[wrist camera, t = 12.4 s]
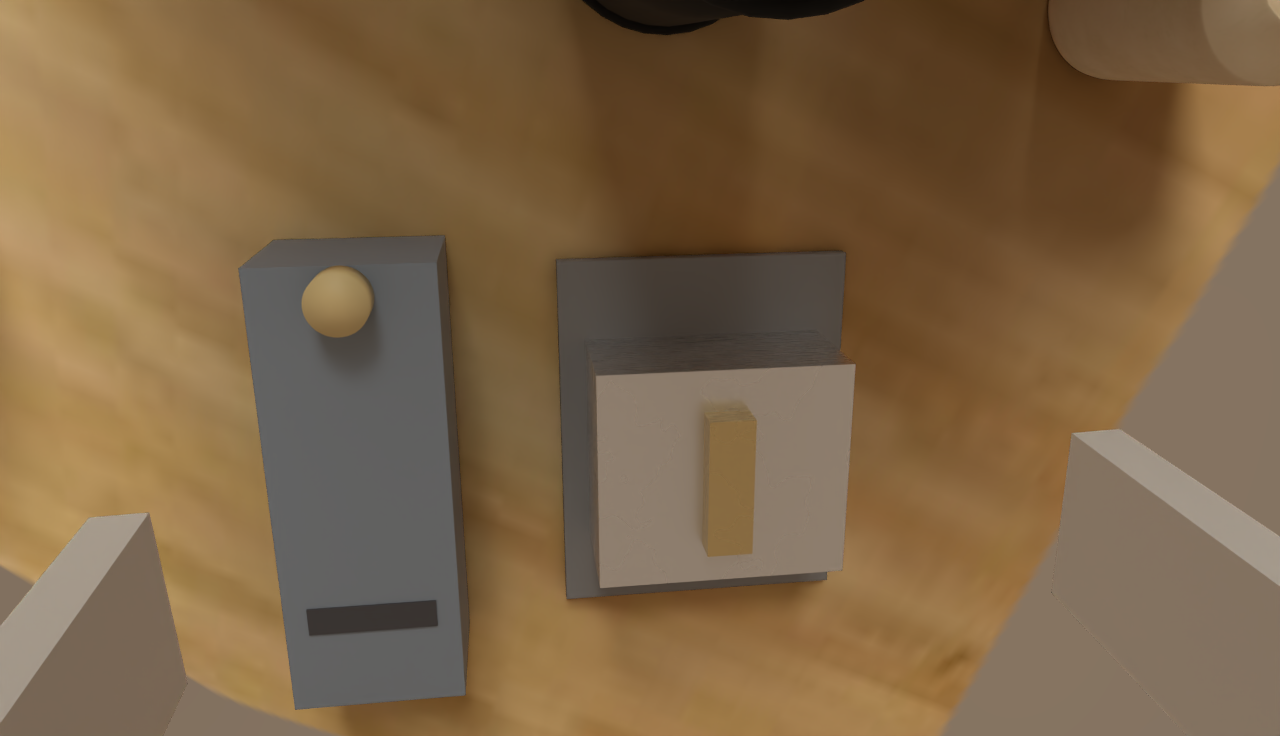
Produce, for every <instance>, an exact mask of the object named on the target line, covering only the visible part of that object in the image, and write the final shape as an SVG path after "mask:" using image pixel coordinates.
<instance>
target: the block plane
mask: <svg viewBox="0 0 1280 736" xmlns="http://www.w3.org/2000/svg"><path fill="white" fill-rule="evenodd" d="M238 269H239V276H240V284H241V292H242V300H243V308H244V315H245V323H246V331H247V339H248V346H249V354H250V362H251V370H252V378H253V385H254V393H255V401H256V409H257V416H258V424H259V432H260V440H261V448H262V455H263V463H264V471H265V479H266V487H267V494H268V502H269V510H270V518H271V525H272V533H273V541H274V549H275V557H276V564H277V572H278V580H279V588H280V595H281V603H282V611H283V619H284V627H285V634H286V642H287V650H288V658H289V665H290V673H291V681H292V689H293V697H294V704H295V710H297V709H309V708H321V707H333V706H345V705H357V704H368V703H380V702H392V701H404V700H416V699H428V698H439V697H451V696H463V695H466V679H467V660H468V642H469V624H470V619H469V603H468V588H467V572H466V556H465V541H464V525H463V509H462V494H461V478H460V463H459V447H458V431H457V416H456V400H455V384H454V369H453V353H452V338H451V322H450V306H449V291H448V275H447V259H446V244H445V235H441V236H403V237H366V238H329V239H291V240H273V241H272V242H271V243H269V244H268V245H267V246H266V247H264V248H263V249H262V250H261V251H259V252H258V253H257V254H256V255H255V256H253V257H252V258H251V259H250V260H248V261H247V262H246V263H245V264H243V265H242V266H241V267H240V268H238Z"/></svg>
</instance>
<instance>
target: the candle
mask: <svg viewBox="0 0 1280 736" xmlns="http://www.w3.org/2000/svg"><path fill="white" fill-rule="evenodd" d="M1048 20H1049V27H1050V31H1051V36H1052V38H1053V41H1054V43H1055V46H1056V47H1057V49H1058V51H1059V53H1060V54H1061V55H1062V57H1063V58H1064V59H1065V60H1066V61H1067V62H1068V63H1069V64H1070V65H1071V66H1072V67H1074V68H1075V69H1077V70H1078V71H1080V72H1082V73H1084V74H1086V75H1089V76H1092V77H1095V78H1100V79H1106V80H1119V81H1145V82H1170V83H1196V84H1221V85H1247V86H1279V85H1280V0H1049V5H1048Z"/></svg>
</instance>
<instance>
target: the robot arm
mask: <svg viewBox="0 0 1280 736" xmlns="http://www.w3.org/2000/svg"><path fill="white" fill-rule="evenodd" d="M1051 593H1052V594H1053V595H1054V596H1055V597H1056V598H1057V599H1058V600H1059V601H1060V602H1061V604H1062V605H1063V606H1064V607H1065V608H1066V609H1067V610H1068V611H1069V612H1070V613H1071V614H1072V615H1073V616H1074V617H1075V618H1076V619H1077V620H1078V622H1079V623H1080V624H1081V625H1082V626H1083V627H1084V628H1085V629H1086V630H1087V631H1088V632H1089V633H1090V634H1091V635H1092V636H1093V637H1094V638H1095V639H1096V640H1097V642H1098V643H1099V644H1100V645H1101V646H1102V647H1103V648H1104V649H1105V650H1106V651H1107V652H1108V653H1109V654H1110V655H1111V656H1112V657H1113V658H1114V659H1115V660H1116V661H1117V663H1118V664H1119V665H1120V666H1121V667H1122V668H1123V669H1124V670H1125V671H1126V672H1127V673H1128V674H1129V675H1130V676H1131V677H1132V678H1133V680H1134V681H1135V682H1136V683H1137V684H1139V686H1140V687H1141V688H1142V689H1143V690H1144V691H1145V692H1146V693H1147V694H1148V695H1149V696H1150V697H1151V698H1152V699H1153V700H1154V702H1155V703H1156V704H1157V705H1158V706H1159V707H1160V708H1161V709H1162V710H1163V711H1164V712H1165V713H1166V714H1167V715H1168V716H1169V717H1170V718H1171V720H1172V721H1173V722H1174V723H1175V724H1176V725H1177V726H1178V727H1179V728H1180V729H1181V730H1182V731H1183V732H1184V733H1185V734H1186V735H1187V736H1280V536H1278V535H1277V534H1275V533H1274V532H1272V531H1271V530H1269V529H1268V528H1266V527H1265V526H1263V525H1262V524H1260V523H1259V522H1257V521H1256V520H1254V519H1253V518H1251V517H1250V516H1248V515H1247V514H1245V513H1244V512H1243V511H1241V510H1240V509H1238V508H1236V507H1235V506H1234V505H1232V504H1231V503H1229V502H1228V501H1226V500H1225V499H1223V498H1222V497H1220V496H1218V495H1217V494H1216V493H1214V492H1213V491H1211V490H1210V489H1208V488H1207V487H1205V486H1204V485H1202V484H1201V483H1199V482H1198V481H1196V480H1195V479H1193V478H1192V477H1191V476H1189V475H1188V474H1186V473H1185V472H1183V471H1182V470H1180V469H1179V468H1177V467H1176V466H1174V465H1173V464H1171V463H1170V462H1168V461H1167V460H1165V459H1164V458H1162V457H1161V456H1159V455H1158V454H1156V453H1155V452H1153V451H1152V450H1150V449H1149V448H1147V447H1146V446H1144V445H1143V444H1141V443H1140V442H1138V441H1137V440H1135V439H1134V438H1132V437H1131V436H1129V435H1128V434H1127V433H1125V432H1124V431H1122V430H1121V429H1115V430H1103V431H1091V432H1080V433H1072V435H1071V443H1070V451H1069V458H1068V466H1067V474H1066V482H1065V490H1064V497H1063V505H1062V513H1061V521H1060V529H1059V536H1058V545H1057V552H1056V560H1055V569H1054V575H1053V583H1052V591H1051ZM187 684H188V683H187V678H186V674H185V669H184V665H183V660H182V656H181V652H180V647H179V643H178V638H177V634H176V629H175V625H174V620H173V616H172V612H171V607H170V603H169V598H168V594H167V589H166V585H165V580H164V576H163V572H162V567H161V563H160V558H159V554H158V549H157V545H156V541H155V536H154V532H153V527H152V523H151V518H150V514H149V513H137V514H126V515H114V516H102V517H91V518H88V519H87V521H86V522H85V523H84V524H83V526H82V527H81V528H80V529H79V530H78V532H77V533H76V534H75V535H74V537H73V538H72V539H71V540H70V541H69V543H68V544H67V545H66V546H65V548H64V549H63V550H62V551H61V552H60V554H59V555H58V556H57V557H56V559H55V560H54V561H53V562H52V563H51V565H50V566H49V567H48V568H47V570H46V571H45V572H44V573H43V574H42V576H41V577H40V578H39V579H38V581H37V582H36V583H35V584H34V585H33V587H32V588H31V589H30V591H29V592H28V593H27V594H26V595H25V597H24V598H23V599H22V600H21V601H20V603H19V604H18V605H17V606H16V608H15V609H14V610H13V611H12V613H11V614H10V615H9V616H8V617H7V619H6V620H5V621H4V622H3V623H2V625H1V626H0V736H163V735H164V733H165V731H166V729H167V726H168V724H169V722H170V720H171V718H172V716H173V714H174V711H175V709H176V707H177V705H178V703H179V701H180V699H181V697H182V694H183V692H184V690H185V688H186V686H187Z"/></svg>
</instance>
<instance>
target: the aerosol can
mask: <svg viewBox="0 0 1280 736" xmlns="http://www.w3.org/2000/svg"><path fill="white" fill-rule="evenodd" d="M583 1H584V2H585V3H586V4H588V5H589V6H590V7H591V8H592V9H594V10H595V11H596V12H597V13H599V14H600V15H601V16H603V17H605V18H606V19H608V20H610V21H612V22H614V23H616V24H618V25H620V26H622V27H624V28H628V29H631V30H635V31H638V32H642V33H647V34H661V35H671V34H678V33H685V32H691V31H694V30H697V29H699V28H702V27H705V26H708V25H710V24H713V23H714V22H716V21H717V20H719V19H721V18H726V17H732V16H738V15H745V16H749V17H759V18H772V19H786V20H789V19H797V18H804V17H811V16H818V15H825V14H829V13H832V12H834V11H837V10H840V9H843V8H845V7H848V6H851V5H854V4H856V3H859V2H862V1H864V0H583Z"/></svg>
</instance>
